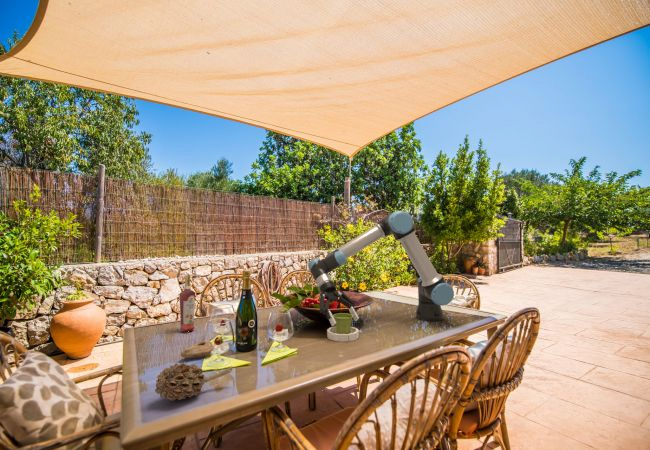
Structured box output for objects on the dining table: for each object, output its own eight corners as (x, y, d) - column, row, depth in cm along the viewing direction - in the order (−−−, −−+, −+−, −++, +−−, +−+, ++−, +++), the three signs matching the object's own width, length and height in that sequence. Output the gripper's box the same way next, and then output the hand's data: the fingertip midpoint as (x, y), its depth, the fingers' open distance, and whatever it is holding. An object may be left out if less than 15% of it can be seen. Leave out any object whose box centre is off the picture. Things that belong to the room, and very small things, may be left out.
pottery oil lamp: (175, 358, 120) (179, 339, 124) (204, 361, 127) (208, 343, 131) (184, 355, 115) (188, 335, 118) (215, 359, 122) (218, 340, 126)
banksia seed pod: (158, 414, 82) (158, 376, 83) (151, 400, 90) (151, 364, 90) (238, 389, 96) (238, 355, 97) (226, 378, 104) (226, 347, 104)
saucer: (363, 334, 149) (363, 328, 149) (350, 343, 136) (350, 336, 136) (335, 330, 156) (335, 324, 156) (321, 338, 143) (321, 332, 143)
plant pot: (353, 331, 151) (353, 313, 151) (353, 337, 141) (353, 318, 142) (333, 331, 151) (333, 313, 152) (332, 337, 142) (332, 318, 142)
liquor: (185, 334, 152) (185, 276, 153) (175, 332, 156) (176, 275, 157) (198, 330, 158) (198, 274, 160) (189, 328, 162) (189, 273, 164)
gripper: (342, 287, 167) (362, 322, 154) (302, 292, 152) (320, 331, 139) (348, 278, 163) (369, 313, 150) (307, 282, 148) (327, 321, 135)
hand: (345, 322), depth 144 cm, fingers open, 13 cm apart
